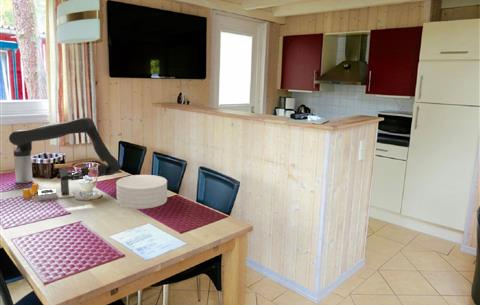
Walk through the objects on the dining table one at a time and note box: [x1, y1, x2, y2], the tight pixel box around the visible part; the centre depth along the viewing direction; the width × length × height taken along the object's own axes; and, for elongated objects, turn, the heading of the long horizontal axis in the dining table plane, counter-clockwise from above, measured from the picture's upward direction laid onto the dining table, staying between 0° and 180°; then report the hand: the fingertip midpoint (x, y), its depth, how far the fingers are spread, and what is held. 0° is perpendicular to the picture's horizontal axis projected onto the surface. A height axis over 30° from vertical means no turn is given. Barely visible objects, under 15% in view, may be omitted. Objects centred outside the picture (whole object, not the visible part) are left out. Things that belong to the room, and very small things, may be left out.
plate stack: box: [115, 174, 168, 210], centre depth 208 cm, size 28×28×12 cm
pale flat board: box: [31, 191, 76, 203], centre depth 204 cm, size 11×21×2 cm, turn 122°
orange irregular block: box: [22, 183, 40, 199], centre depth 205 cm, size 12×4×6 cm, turn 4°
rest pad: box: [56, 191, 75, 199], centre depth 207 cm, size 8×8×1 cm
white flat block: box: [37, 187, 58, 202], centre depth 202 cm, size 9×9×4 cm
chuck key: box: [54, 162, 74, 195], centre depth 205 cm, size 4×9×18 cm, turn 121°
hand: (59, 177), depth 203 cm, fingers open, 4 cm apart
